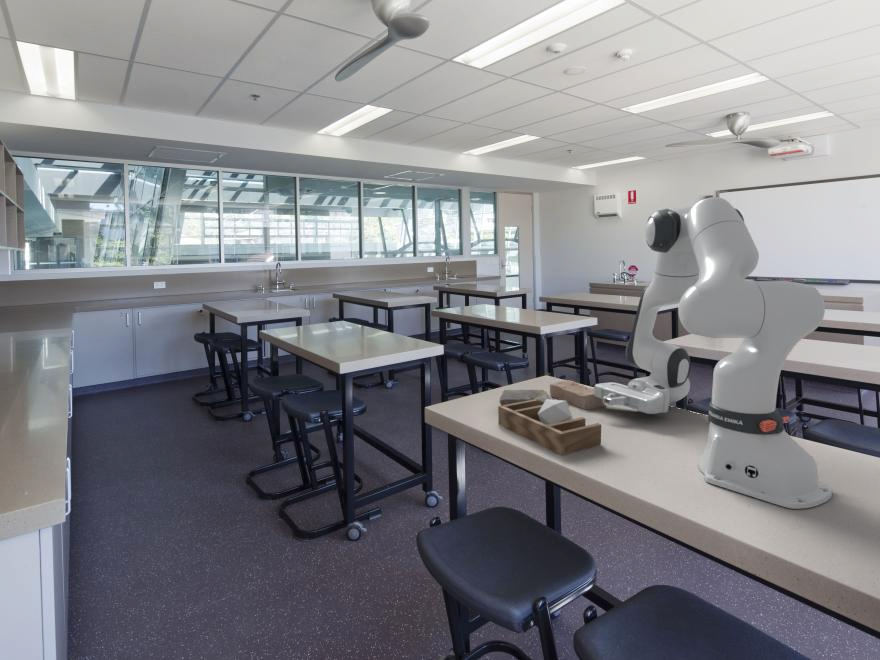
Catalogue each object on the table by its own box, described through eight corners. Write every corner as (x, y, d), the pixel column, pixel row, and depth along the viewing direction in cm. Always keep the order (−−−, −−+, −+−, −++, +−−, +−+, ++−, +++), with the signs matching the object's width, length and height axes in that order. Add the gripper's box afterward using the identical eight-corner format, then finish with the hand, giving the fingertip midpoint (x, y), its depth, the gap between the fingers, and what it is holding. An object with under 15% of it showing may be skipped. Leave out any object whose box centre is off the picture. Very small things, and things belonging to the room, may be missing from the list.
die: (556, 441, 127) (579, 409, 127) (527, 420, 130) (550, 389, 130) (560, 441, 134) (581, 411, 134) (533, 421, 138) (554, 392, 137)
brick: (606, 406, 153) (606, 390, 152) (584, 410, 149) (584, 394, 148) (569, 393, 167) (569, 379, 167) (548, 397, 164) (548, 382, 163)
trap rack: (600, 444, 122) (601, 424, 121) (561, 455, 116) (561, 434, 116) (534, 416, 144) (534, 399, 143) (498, 424, 138) (498, 406, 137)
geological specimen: (499, 389, 155) (550, 387, 153) (500, 409, 156) (551, 407, 154) (498, 398, 144) (553, 396, 142) (500, 419, 145) (554, 417, 143)
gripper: (614, 375, 154) (579, 381, 148) (674, 390, 136) (637, 399, 130) (613, 395, 155) (579, 403, 149) (672, 413, 137) (636, 423, 131)
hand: (606, 401), depth 139 cm, fingers closed
